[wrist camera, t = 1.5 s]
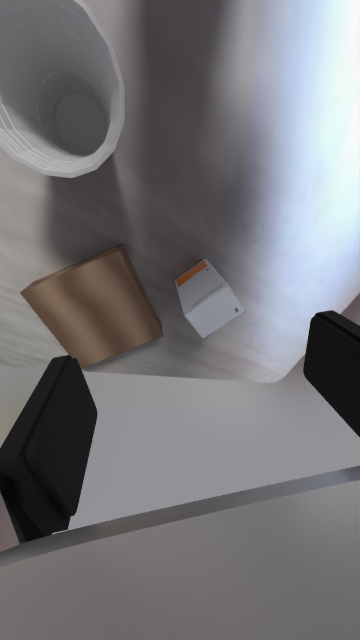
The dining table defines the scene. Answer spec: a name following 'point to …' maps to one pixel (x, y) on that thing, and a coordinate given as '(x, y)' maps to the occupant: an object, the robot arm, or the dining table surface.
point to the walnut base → (96, 307)
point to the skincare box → (207, 299)
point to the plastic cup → (58, 87)
